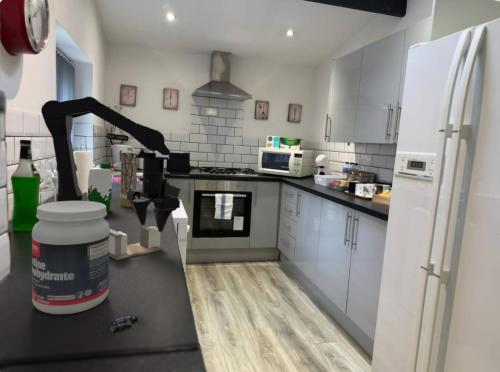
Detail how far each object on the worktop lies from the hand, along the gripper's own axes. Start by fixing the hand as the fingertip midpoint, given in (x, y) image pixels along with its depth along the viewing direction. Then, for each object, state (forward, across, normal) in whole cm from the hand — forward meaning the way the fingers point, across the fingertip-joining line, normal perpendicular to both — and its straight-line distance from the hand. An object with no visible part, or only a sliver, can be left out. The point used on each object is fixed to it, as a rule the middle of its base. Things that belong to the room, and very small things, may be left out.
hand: (151, 228), depth 100 cm
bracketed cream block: (+5, 0, +10) cm, 12 cm away
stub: (+5, 0, 0) cm, 5 cm away
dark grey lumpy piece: (+6, -34, +27) cm, 44 cm away
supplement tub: (+6, -20, +30) cm, 36 cm away
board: (+6, 0, +6) cm, 8 cm away
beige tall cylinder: (+6, +59, -26) cm, 65 cm away
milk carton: (+6, +55, -10) cm, 56 cm away
